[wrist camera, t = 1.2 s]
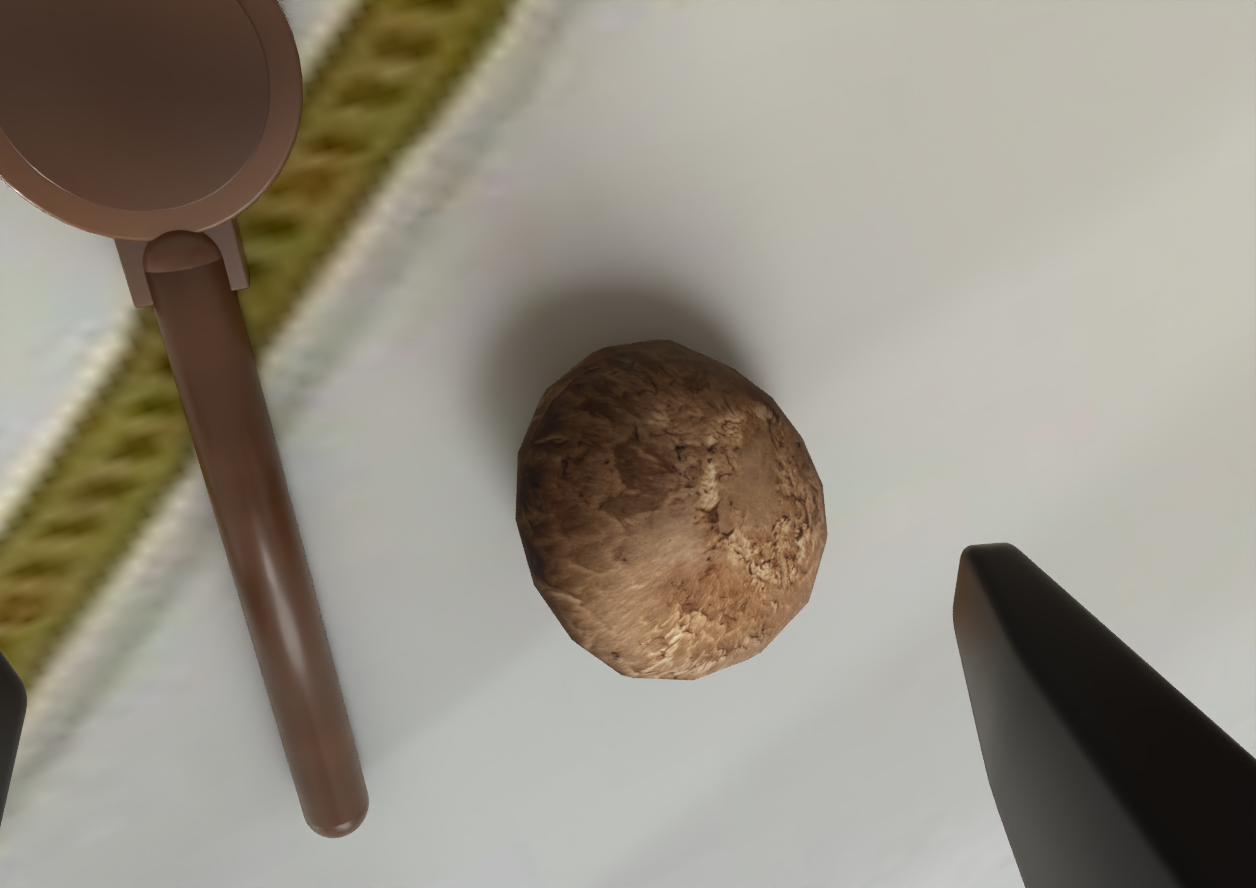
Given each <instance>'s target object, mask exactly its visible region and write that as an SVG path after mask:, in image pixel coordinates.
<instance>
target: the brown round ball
mask: <svg viewBox="0 0 1256 888" xmlns="http://www.w3.org/2000/svg"><path fill="white" fill-rule="evenodd" d="M516 522H517V526H518V529H519V533H520V537H521V540H522V544H523V547H524V551H525V554H526V558H527V562H528V565H529V569H530V572H531V576H532V579H533V583H534V586H535V587H536V588H537V590H538V591H539V593H540V594H541V596H542V597H543V599H544V600H545V601H546V603H547V604H548V606H549V607H550V609H551V610H552V612H553V613H554V614H555V616H556V617H557V619H558V620H559V622H560V623H561V625H562V626H563V628H564V629H565V630H566V632H567V633H568V635H569V636H570V638H571V639H572V640H573V641H575V642H576V643H577V644H578V645H580V646H581V647H583V648H584V649H586V650H587V651H588V652H590V653H591V654H593V655H594V656H595V657H597V658H598V659H600V660H601V661H603V662H604V663H605V664H607V665H608V666H610V667H611V668H613V669H614V670H615V671H617V672H618V673H620V674H621V675H624V676H628V677H632V678H651V679H677V680H695V679H698V678H700V677H703V676H705V675H708V674H711V673H713V672H716V671H719V670H721V669H724V668H726V667H729V666H732V665H734V664H737V663H740V662H742V661H745V660H747V659H749V658H751V657H753V656H755V655H757V654H759V653H760V652H762V650H763V649H764V648H765V647H766V646H767V645H768V644H769V643H770V642H771V641H772V640H773V639H774V638H775V637H776V636H777V635H778V634H779V633H780V631H781V630H782V629H783V628H784V627H785V626H786V625H787V624H788V623H789V622H790V621H791V620H792V619H793V618H794V617H795V616H796V615H797V614H798V612H799V611H800V610H801V609H802V608H803V607H804V606H805V605H806V604H807V603H808V601H809V598H810V595H811V592H812V589H813V585H814V582H815V579H816V575H817V572H818V568H819V565H820V561H821V558H822V554H823V551H824V547H825V544H826V539H827V526H826V515H825V505H824V494H823V485H822V483H821V480H820V478H819V476H818V473H817V471H816V469H815V466H814V464H813V462H812V459H811V457H810V455H809V453H808V450H807V448H806V446H805V443H804V441H803V439H802V437H801V436H800V434H799V433H798V432H797V430H796V429H795V428H794V426H793V425H792V424H791V422H790V421H789V420H788V418H787V417H786V416H785V414H784V413H783V412H782V410H781V409H780V408H779V406H778V405H777V404H776V402H775V401H774V400H773V398H772V397H771V396H769V395H768V394H767V393H765V392H764V391H763V390H761V389H760V388H759V387H757V386H756V385H755V384H753V383H752V382H751V381H749V380H748V379H747V378H745V377H744V376H743V375H741V374H740V373H738V372H737V371H736V370H734V369H733V368H731V367H729V366H727V365H725V364H722V363H720V362H718V361H716V360H713V359H711V358H709V357H707V356H704V355H702V354H700V353H698V352H696V351H693V350H691V349H689V348H687V347H684V346H682V345H680V344H677V343H675V342H673V341H670V340H651V341H645V342H638V343H632V344H625V345H619V346H612V347H606V348H602V349H600V350H598V351H596V352H593V353H592V354H590V355H589V356H588V357H586V358H585V359H584V360H583V361H581V362H580V363H579V364H578V365H576V366H575V367H574V368H573V369H571V370H570V371H569V372H568V373H566V374H565V375H564V376H563V377H561V378H560V379H559V380H557V381H556V382H555V383H554V384H552V385H551V386H550V387H549V388H547V389H546V391H545V392H544V394H543V395H542V397H541V400H540V402H539V404H538V407H537V409H536V411H535V414H534V416H533V419H532V421H531V423H530V426H529V428H528V430H527V433H526V435H525V437H524V440H523V442H522V444H521V447H520V449H519V451H518V466H517V494H516Z"/></svg>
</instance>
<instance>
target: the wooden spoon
mask: <svg viewBox="0 0 1256 888" xmlns="http://www.w3.org/2000/svg"><path fill="white" fill-rule="evenodd" d="M302 101H303V89H302V73H301V66H300V60H299V55H298V51H297V47H296V44H295V40H294V37H293V34H292V31H291V29H290V26H289V24H288V22H287V19H286V17H285V15H284V12H283V11H282V9H281V7H280V5H279V3H278V2H277V0H0V178H1V179H2V180H3V181H4V182H5V183H6V184H7V185H8V186H9V187H11V188H12V189H13V190H14V191H15V192H17V193H18V194H19V195H20V196H21V197H23V198H24V199H25V200H27V201H28V202H30V203H31V204H33V205H34V206H36V207H37V208H39V209H40V210H42V211H43V212H45V213H47V214H48V215H50V216H52V217H54V218H56V219H58V220H60V221H62V222H64V223H66V224H68V225H71V226H74V227H76V228H79V229H81V230H84V231H87V232H90V233H94V234H98V235H102V236H105V237H109V238H114V240H115V244H116V247H117V250H118V254H119V257H120V260H121V263H122V267H123V270H124V273H125V277H126V280H127V283H128V287H129V290H130V293H131V296H132V300H133V303H134V306H135V307H137V308H139V307H145V306H151V305H153V308H154V312H155V315H156V318H157V322H158V325H159V329H160V332H161V335H162V339H163V342H164V345H165V349H166V352H167V356H168V359H169V362H170V366H171V369H172V372H173V376H174V379H175V382H176V386H177V389H178V393H179V396H180V399H181V403H182V406H183V409H184V413H185V416H186V420H187V423H188V426H189V430H190V433H191V436H192V440H193V443H194V447H195V450H196V453H197V457H198V460H199V463H200V467H201V470H202V474H203V477H204V480H205V484H206V487H207V490H208V494H209V497H210V501H211V504H212V507H213V511H214V514H215V517H216V521H217V524H218V527H219V531H220V534H221V538H222V541H223V544H224V548H225V551H226V554H227V558H228V561H229V565H230V568H231V571H232V575H233V578H234V581H235V585H236V588H237V592H238V595H239V598H240V602H241V605H242V608H243V612H244V615H245V619H246V622H247V625H248V629H249V632H250V635H251V639H252V642H253V646H254V649H255V652H256V656H257V659H258V662H259V666H260V669H261V673H262V676H263V679H264V683H265V686H266V689H267V693H268V696H269V699H270V703H271V706H272V710H273V713H274V716H275V720H276V723H277V726H278V730H279V733H280V737H281V740H282V743H283V747H284V750H285V753H286V757H287V760H288V764H289V767H290V770H291V774H292V777H293V780H294V784H295V787H296V791H297V794H298V797H299V801H300V804H301V807H302V811H303V814H304V817H305V820H306V822H307V824H308V825H309V827H310V828H311V829H312V830H313V831H314V832H316V833H317V834H319V835H321V836H324V837H328V838H339V837H343V836H346V835H348V834H350V833H352V832H353V831H355V830H356V829H357V828H358V827H359V826H360V824H361V823H362V822H363V821H364V819H365V817H366V814H367V811H368V806H369V798H368V793H367V789H366V785H365V781H364V777H363V773H362V770H361V766H360V762H359V758H358V754H357V751H356V747H355V743H354V739H353V735H352V731H351V728H350V724H349V720H348V716H347V712H346V709H345V705H344V701H343V697H342V693H341V690H340V686H339V682H338V678H337V674H336V670H335V667H334V663H333V659H332V655H331V651H330V648H329V644H328V640H327V636H326V632H325V628H324V625H323V621H322V617H321V613H320V609H319V606H318V602H317V598H316V594H315V590H314V587H313V583H312V579H311V575H310V571H309V567H308V564H307V560H306V556H305V552H304V548H303V545H302V541H301V537H300V533H299V529H298V525H297V522H296V518H295V514H294V510H293V506H292V503H291V499H290V495H289V491H288V487H287V483H286V480H285V476H284V472H283V468H282V464H281V461H280V457H279V453H278V449H277V445H276V442H275V438H274V434H273V430H272V426H271V422H270V419H269V415H268V411H267V407H266V403H265V400H264V396H263V392H262V388H261V384H260V380H259V377H258V373H257V369H256V365H255V361H254V358H253V354H252V350H251V346H250V342H249V339H248V335H247V331H246V327H245V323H244V319H243V316H242V312H241V308H240V304H239V300H238V297H237V293H236V290H241V289H246V288H249V286H250V273H249V269H248V265H247V261H246V257H245V253H244V249H243V245H242V242H241V238H240V234H239V230H238V226H237V222H236V218H235V217H236V216H238V215H239V214H241V213H242V212H243V211H245V210H246V209H247V208H249V207H250V206H251V205H253V204H254V203H255V202H256V201H257V200H258V199H259V198H260V197H261V196H262V195H263V194H264V193H265V192H266V191H267V190H268V188H269V187H270V186H271V184H272V183H273V182H274V181H275V179H276V178H277V177H278V175H279V173H280V172H281V170H282V168H283V167H284V165H285V163H286V161H287V160H288V157H289V155H290V152H291V150H292V147H293V145H294V143H295V140H296V136H297V132H298V128H299V124H300V120H301V111H302Z"/></svg>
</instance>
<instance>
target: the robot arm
mask: <svg viewBox="0 0 1256 888" xmlns="http://www.w3.org/2000/svg"><path fill="white" fill-rule="evenodd" d="M953 623H954V630H955V635H956V639H957V644H958V648H959V653H960V657H961V662H962V666H963V671H964V675H965V679H966V684H967V688H968V693H969V697H970V702H971V706H972V711H973V715H974V720H975V724H976V728H977V733H978V737H979V742H980V746H981V751H982V755H983V759H984V763H985V768H986V772H987V776H988V780H989V784H990V787H991V790H992V793H993V796H994V799H995V803H996V806H997V809H998V812H999V815H1000V817H1001V820H1002V823H1003V826H1004V829H1005V832H1006V834H1007V837H1008V840H1009V843H1010V846H1011V848H1012V851H1013V854H1014V857H1015V860H1016V863H1017V865H1018V868H1019V871H1020V874H1021V877H1022V880H1023V882H1024V885H1025V888H1256V759H1255V758H1254V757H1253V756H1252V755H1250V754H1249V753H1248V752H1247V751H1246V750H1245V749H1244V748H1243V747H1241V746H1240V745H1239V744H1238V743H1237V742H1236V741H1235V740H1233V739H1232V738H1231V737H1230V736H1229V735H1228V734H1227V733H1226V732H1224V731H1223V730H1222V729H1221V728H1220V727H1219V726H1218V725H1217V724H1215V723H1214V722H1213V721H1212V720H1211V719H1210V718H1209V717H1208V716H1206V715H1205V714H1204V713H1203V712H1202V711H1201V710H1200V709H1198V708H1197V707H1196V706H1195V705H1194V704H1193V703H1192V702H1191V701H1189V700H1188V699H1187V698H1186V697H1185V696H1184V695H1183V694H1182V693H1180V692H1179V691H1178V690H1177V689H1176V688H1175V687H1174V686H1172V685H1171V684H1170V683H1169V682H1168V681H1167V680H1166V679H1165V678H1163V677H1162V676H1161V675H1160V674H1159V673H1158V672H1157V671H1156V670H1154V669H1153V668H1152V667H1151V666H1150V665H1149V664H1148V663H1146V662H1145V661H1144V660H1143V659H1142V658H1141V657H1140V656H1139V655H1137V654H1136V653H1135V652H1134V651H1133V650H1132V649H1131V648H1130V647H1128V646H1127V645H1126V644H1125V643H1124V642H1123V641H1122V640H1121V639H1119V638H1118V637H1117V636H1116V635H1115V634H1114V633H1113V632H1111V631H1110V630H1109V629H1108V628H1107V627H1106V626H1105V625H1104V624H1102V623H1101V622H1100V621H1099V620H1098V619H1097V618H1096V617H1095V616H1093V615H1092V614H1091V613H1090V612H1089V611H1088V610H1087V609H1085V608H1084V607H1083V606H1082V605H1081V604H1080V603H1079V602H1078V601H1076V600H1075V599H1074V598H1073V597H1072V596H1071V595H1070V594H1069V593H1067V592H1066V591H1065V590H1064V589H1063V588H1062V587H1061V586H1059V585H1058V584H1057V583H1056V582H1055V581H1054V580H1053V579H1052V578H1050V577H1049V576H1048V575H1047V574H1046V573H1045V572H1044V571H1043V570H1041V569H1040V568H1039V567H1038V566H1037V565H1036V564H1035V563H1034V562H1032V561H1031V560H1030V559H1029V558H1028V557H1027V556H1026V555H1024V554H1023V553H1022V552H1021V551H1020V550H1019V549H1018V548H1016V547H1015V546H1013V545H1011V544H1009V543H992V544H980V545H970V546H968V547H966V548H965V549H964V550H963V552H962V554H961V557H960V563H959V570H958V576H957V583H956V589H955V596H954V603H953ZM26 707H27V696H26V690H25V687H24V684H23V682H22V681H21V679H20V678H19V676H18V675H17V673H16V672H15V671H14V669H13V668H12V666H11V665H10V664H9V662H8V661H7V659H6V658H5V657H4V655H3V654H2V653H1V651H0V825H1V821H2V816H3V812H4V807H5V803H6V799H7V794H8V790H9V785H10V781H11V776H12V772H13V767H14V763H15V758H16V754H17V749H18V745H19V740H20V736H21V731H22V727H23V722H24V718H25V713H26Z"/></svg>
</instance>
